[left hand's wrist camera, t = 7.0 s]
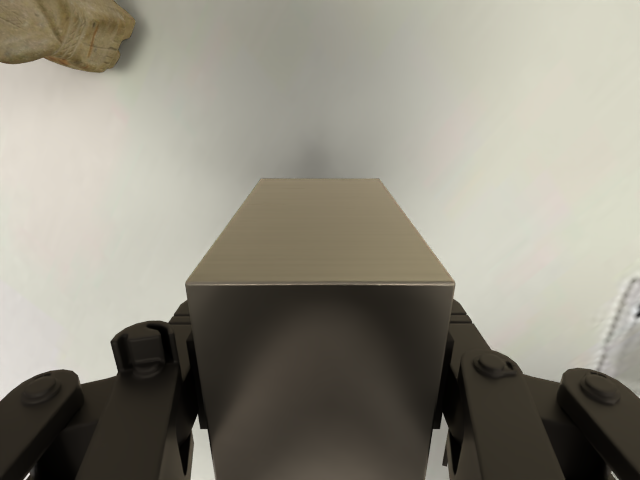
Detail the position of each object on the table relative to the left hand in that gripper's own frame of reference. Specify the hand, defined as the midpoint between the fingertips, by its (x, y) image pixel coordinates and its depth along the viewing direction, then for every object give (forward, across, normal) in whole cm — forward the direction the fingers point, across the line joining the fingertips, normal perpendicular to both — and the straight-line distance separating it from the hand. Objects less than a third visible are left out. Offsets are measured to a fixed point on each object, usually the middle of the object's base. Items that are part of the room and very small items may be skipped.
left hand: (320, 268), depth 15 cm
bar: (+1, 0, -9) cm, 9 cm away
